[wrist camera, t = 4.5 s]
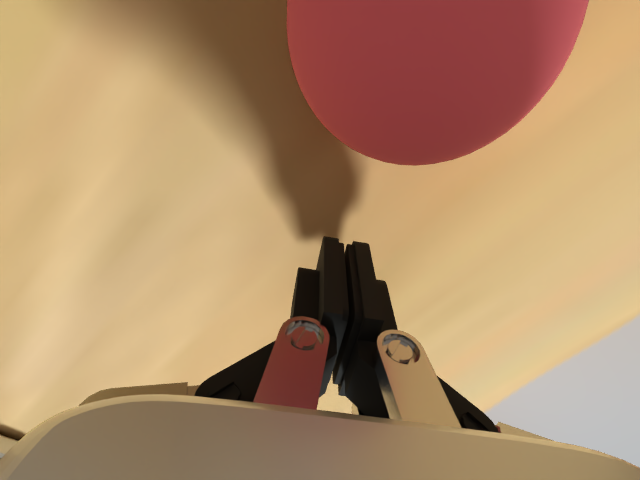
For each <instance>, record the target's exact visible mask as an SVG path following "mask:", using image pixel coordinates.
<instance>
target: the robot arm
mask: <svg viewBox="0 0 640 480" xmlns="http://www.w3.org/2000/svg"><path fill="white" fill-rule="evenodd" d="M332 371H333V384H338V391H339V395H341V396H346V397H347V398H348V399H349V400H350V401H351V402H352V403H353V404H352V414H347V413H339V412H331V411H322V410H317V404H318V399H319V397H321V396H322V395H323V394H324V393H325V392H326V388H327V385H328V383H329V381H330V378H331V374H332ZM0 480H640V468H639V467H637V466H635V465H633V464H631V463H628V462H626V461H624V460H622V459H619V458H616V457H613V456H611V455H607V454H605V453H602V452H599V451H595V450H591V449H588V448H584V447H580V446H576V445H571V444H566V443H561V442H555V441H552V440H550V439H547V438H544V437H541V436H538V435H535V434H532V433H530V432H526V431H524V430H521V429H518V428H515V427H512V426H509V425H506V424H503V423H501V422H498V424H497V425H494V423H493V422H492V421H491V420H490V419H489V418H488V417H487V416H486V415H485V414H484V413H483V412H482V411H480V410H479V409H478V408H477V407H475V406H474V405H473V404H472V403H470V402H469V401H468V400H467V399H465V398H464V397H463V396H462V395H460V394H459V393H458V392H457V391H455V390H454V389H453V388H452V387H450V386H449V385H448V384H447V383H445V382H444V381H443V380H442V379H440V378H439V377H438V376H437V375H436V373H435V371H434V369H433V367H432V365H431V363H430V361H429V359H428V357H427V355H426V353H425V350H424V348H423V347H422V345H421V344H420V343H419V342H418V341H417V340H416V339H415V338H414V337H413V336H411V335H409V334H408V333H405V332H403V331H399V330H397V325H396V321H395V317H394V313H393V309H392V305H391V300H390V296H389V292H388V288H387V284H386V282H385V281H382V280H376V277H375V272H374V267H373V262H372V257H371V252H370V247H369V244H367V243H361V242H355V241H354V242H353V243H352V245H350V244H347V246H346V250H345V254H344V244H343V243H339V239H337V238H331V237H325V236H324V237H323V241H322V245H321V250H320V254H319V259H318V264H317V268H316V270H312V269H306V268H300V267H299V268H298V272H297V277H296V283H295V288H294V295H293V301H292V308H291V316H290V319H288V320H287V321H286V322H284V323H283V325H282V326H281V328H280V331H279V333H278V336H277V339H276V341H274V342H272V343H270V344H268V345H267V346H265V347H263V348H261V349H260V350H258V351H256V352H254V353H252V354H251V355H249V356H247V357H245V358H244V359H242V360H240V361H238V362H236V363H235V364H233V365H231V366H229V367H227V368H226V369H224V370H222V371H220V372H219V373H217V374H215V375H213V376H211V377H210V378H208V379H207V380H206V381H204V382H203V383H202V384H201V385H197V386H188V382H184V383H171V384H159V385H146V386H133V387H121V388H110V389H106V390H101V391H99V392H97V393H95V394H93V395H91V396H89V397H88V398H87V399H85V400H84V401H83V402H82V403H81V404H80V405H79V406H78V407H75V408H72V409H69V410H67V411H64V412H61V413H59V414H57V415H55V416H53V417H51V418H49V419H47V420H46V421H44V422H42V423H41V424H39V425H38V426H36V427H35V428H34V429H32V430H31V431H30V432H28V433H27V434H26V435H25V436H24V437H23V438H22V439H20V440H19V441H18V440H15V439H12V438H9V437H5V436H2V435H0Z"/></svg>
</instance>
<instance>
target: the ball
mask: <svg viewBox="0 0 640 480" xmlns="http://www.w3.org/2000/svg"><path fill="white" fill-rule="evenodd" d="M588 2H589V0H288V1H287V37H288V47H289V53H290V57H291V62H292V67H293V70H294V73H295V76H296V79H297V82H298V85H299V87H300V89H301V91H302V93H303V95H304V97H305V99H306V101H307V103H308V105H309V106H310V108H311V109H312V111H313V112H314V114H315V115H316V117H317V118H318V119H319V120H320V122H321V123H322V124H323V125H324V126H325V127H326V129H327V130H328V131H329V132H331V133H332V134H333V135H334V136H335V137H336V138H337V139H338V140H340V141H341V142H343V143H344V144H345V145H347V146H348V147H350V148H351V149H353V150H355V151H357V152H359V153H361V154H363V155H365V156H368V157H371V158H374V159H377V160H380V161H383V162H388V163H393V164H398V165H426V164H435V163H440V162H444V161H449V160H453V159H456V158H459V157H462V156H464V155H467V154H470V153H472V152H474V151H476V150H478V149H480V148H482V147H484V146H486V145H487V144H489V143H491V142H492V141H494V140H496V139H497V138H499V137H500V136H502V135H503V134H505V133H506V132H508V131H509V130H510V129H511V128H512V127H514V126H515V125H516V124H517V123H518V122H520V121H521V120H522V119H523V118H524V117H525V116H526V115H527V114H528V113H529V112H530V111H531V110H532V109H533V108H534V107H535V106H536V104H537V103H538V102H539V101H540V100H541V99H542V97H543V96H544V95H545V94H546V92H547V91H548V90H549V89H550V87H551V86H552V85H553V83H554V81H555V80H556V78H557V77H558V75H559V74H560V72H561V71H562V69H563V67H564V65H565V63H566V61H567V59H568V57H569V56H570V54H571V52H572V50H573V47H574V45H575V42H576V39H577V37H578V34H579V32H580V29H581V26H582V24H583V20H584V17H585V13H586V9H587V6H588Z"/></svg>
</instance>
